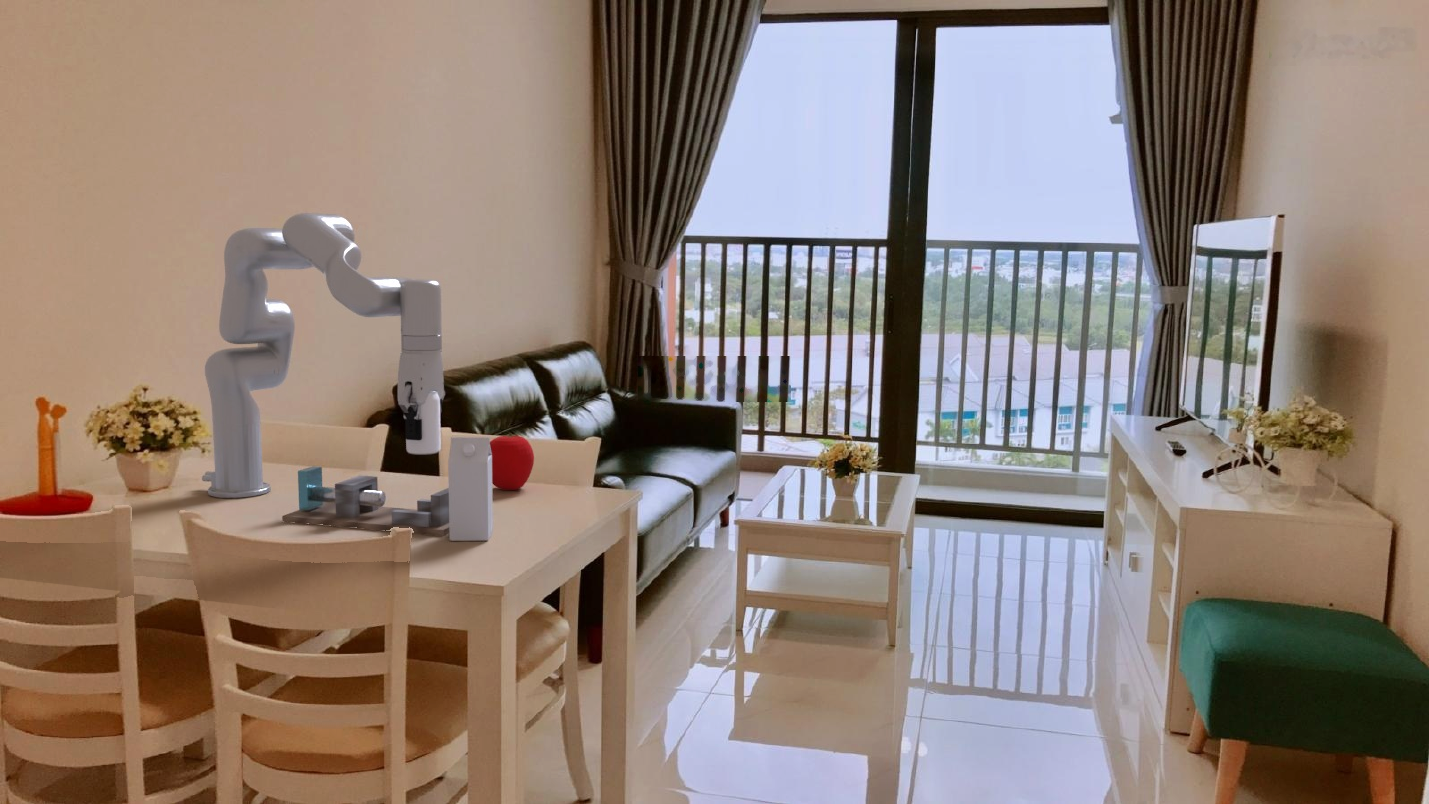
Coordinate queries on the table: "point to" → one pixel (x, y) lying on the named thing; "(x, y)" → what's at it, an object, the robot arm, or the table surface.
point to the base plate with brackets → (377, 511)
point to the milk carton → (470, 489)
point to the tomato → (511, 461)
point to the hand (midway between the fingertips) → (423, 435)
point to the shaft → (328, 491)
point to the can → (427, 427)
